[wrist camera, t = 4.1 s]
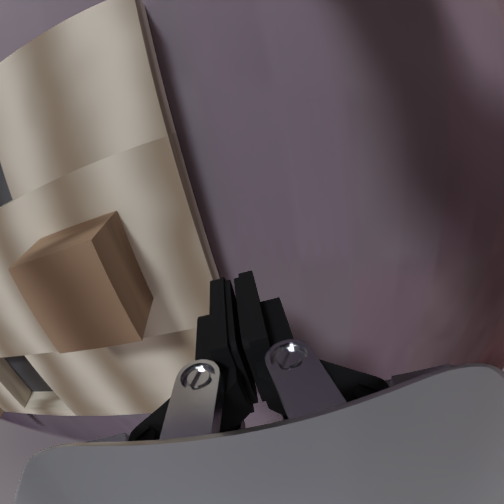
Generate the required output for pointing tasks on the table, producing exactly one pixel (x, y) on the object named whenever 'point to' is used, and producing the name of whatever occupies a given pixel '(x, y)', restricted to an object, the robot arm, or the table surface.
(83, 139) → the box
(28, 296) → the walnut block
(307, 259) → the table surface
